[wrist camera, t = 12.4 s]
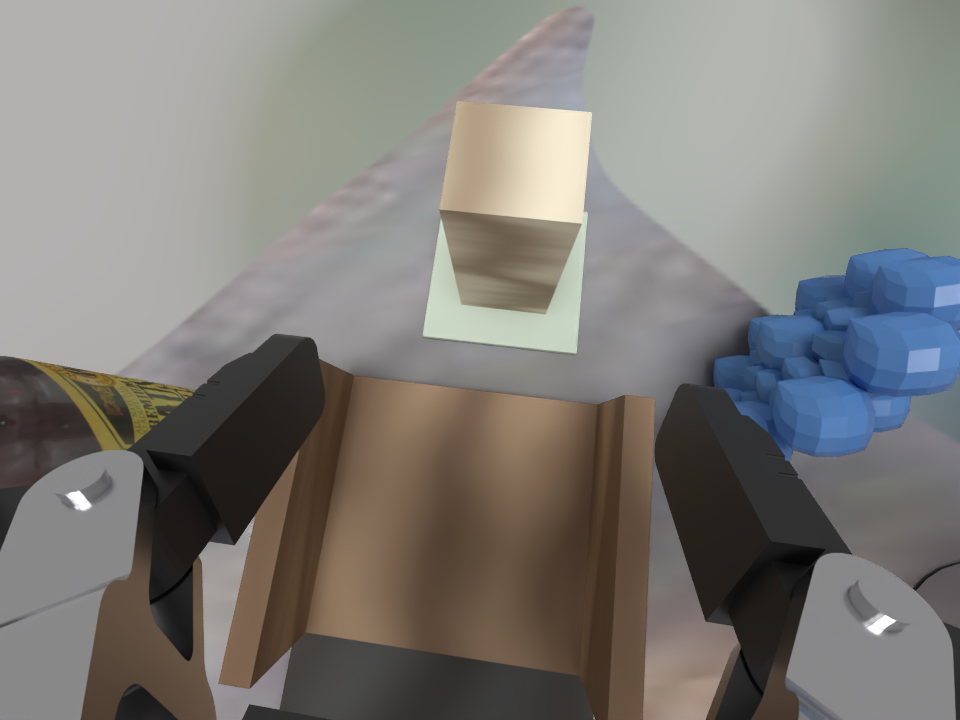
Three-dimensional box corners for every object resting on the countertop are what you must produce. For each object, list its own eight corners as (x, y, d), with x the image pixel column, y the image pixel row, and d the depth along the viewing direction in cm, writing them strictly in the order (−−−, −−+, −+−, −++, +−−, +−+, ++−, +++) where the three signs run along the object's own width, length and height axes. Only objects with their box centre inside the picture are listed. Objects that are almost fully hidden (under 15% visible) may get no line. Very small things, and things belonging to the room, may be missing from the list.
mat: (586, 215, 25) (587, 212, 25) (575, 354, 23) (576, 353, 23) (444, 202, 26) (444, 198, 25) (423, 337, 24) (422, 336, 24)
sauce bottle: (314, 424, 23) (-619, 328, 4) (263, 530, 22) (-1428, 1178, 3) (216, 382, 24) (-998, 119, 4) (163, 484, 23) (-1758, 724, 3)
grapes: (730, 513, 21) (1014, 599, 10) (629, 426, 23) (776, 408, 11) (852, 356, 23) (1229, 265, 11) (753, 281, 24) (1001, 127, 12)
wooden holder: (610, 410, 23) (655, 398, 16) (582, 861, 19) (628, 1078, 12) (345, 378, 24) (291, 355, 17) (264, 802, 20) (153, 976, 13)
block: (552, 244, 25) (592, 112, 15) (545, 314, 24) (582, 223, 14) (471, 235, 25) (457, 101, 15) (461, 304, 24) (439, 209, 14)
